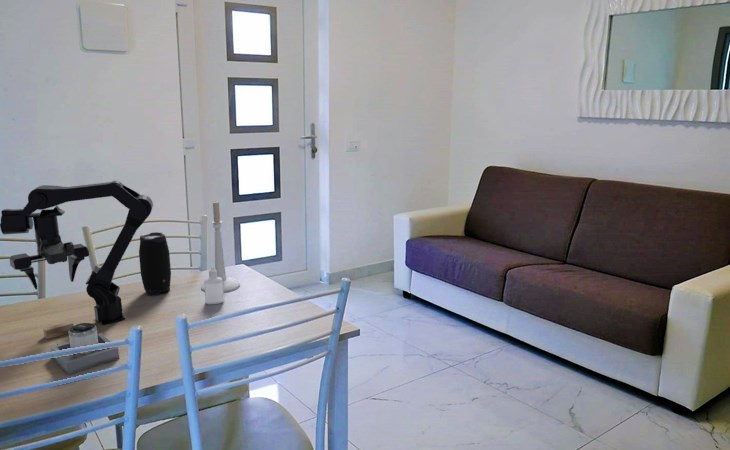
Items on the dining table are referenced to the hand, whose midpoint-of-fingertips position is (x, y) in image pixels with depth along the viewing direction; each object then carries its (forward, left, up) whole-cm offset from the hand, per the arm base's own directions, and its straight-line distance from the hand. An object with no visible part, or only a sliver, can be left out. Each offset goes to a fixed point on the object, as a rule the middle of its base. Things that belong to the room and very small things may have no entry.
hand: (54, 285), depth 158 cm
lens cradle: (+2, +13, -12) cm, 18 cm away
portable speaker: (-32, -7, -12) cm, 35 cm away
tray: (+2, +27, -12) cm, 29 cm away
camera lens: (+1, +27, -11) cm, 29 cm away
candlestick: (-50, +3, -12) cm, 52 cm away
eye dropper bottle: (-41, +15, -12) cm, 45 cm away
